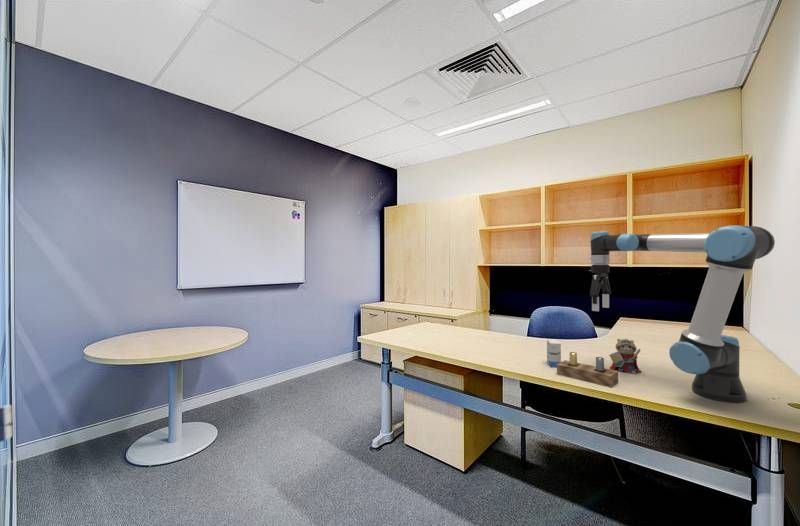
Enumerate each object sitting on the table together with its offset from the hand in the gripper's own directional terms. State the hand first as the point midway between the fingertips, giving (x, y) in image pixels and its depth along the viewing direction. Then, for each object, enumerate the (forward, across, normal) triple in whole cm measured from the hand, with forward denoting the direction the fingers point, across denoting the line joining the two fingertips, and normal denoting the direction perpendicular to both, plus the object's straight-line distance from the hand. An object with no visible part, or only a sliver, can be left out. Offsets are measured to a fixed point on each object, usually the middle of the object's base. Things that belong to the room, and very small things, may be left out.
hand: (600, 309), depth 157 cm
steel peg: (+29, +16, +4) cm, 33 cm away
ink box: (+29, +8, -19) cm, 35 cm away
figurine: (+29, -6, +8) cm, 31 cm away
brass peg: (+29, +16, -6) cm, 33 cm away
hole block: (+29, +16, -1) cm, 33 cm away
